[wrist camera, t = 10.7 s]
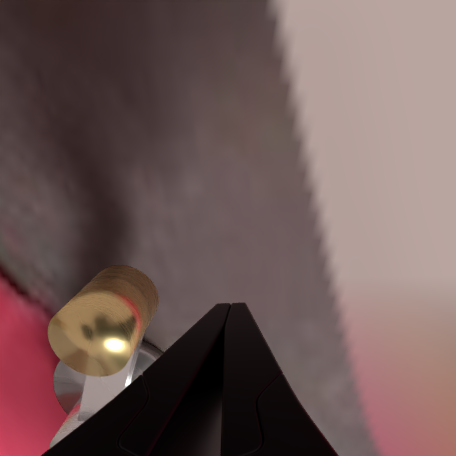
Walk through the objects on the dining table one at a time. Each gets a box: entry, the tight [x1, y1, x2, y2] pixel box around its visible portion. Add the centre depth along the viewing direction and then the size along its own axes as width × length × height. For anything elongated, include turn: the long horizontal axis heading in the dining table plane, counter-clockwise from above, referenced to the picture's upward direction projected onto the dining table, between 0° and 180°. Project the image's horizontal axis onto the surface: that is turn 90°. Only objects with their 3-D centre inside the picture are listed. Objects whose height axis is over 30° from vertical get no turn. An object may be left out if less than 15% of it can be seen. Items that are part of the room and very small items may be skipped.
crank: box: [48, 265, 159, 449], centre depth 13 cm, size 11×3×5 cm, turn 162°
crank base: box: [53, 340, 163, 415], centre depth 17 cm, size 7×7×1 cm
